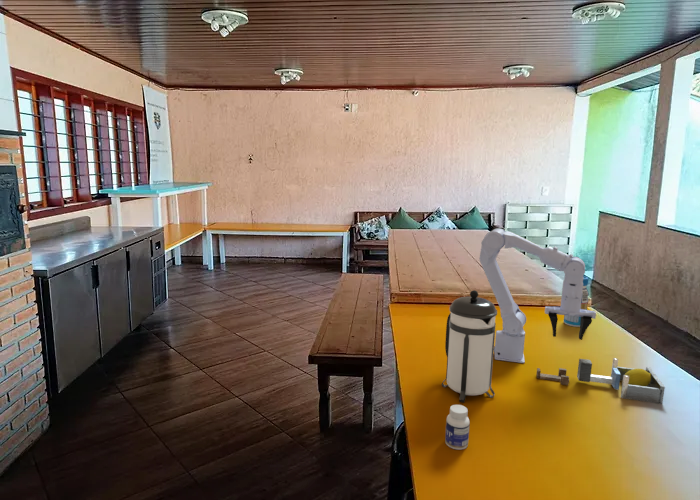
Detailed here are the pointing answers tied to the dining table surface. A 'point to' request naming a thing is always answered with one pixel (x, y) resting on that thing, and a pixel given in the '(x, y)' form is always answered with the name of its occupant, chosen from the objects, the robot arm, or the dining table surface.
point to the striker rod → (586, 375)
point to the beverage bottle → (584, 301)
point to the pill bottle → (457, 427)
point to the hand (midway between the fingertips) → (567, 337)
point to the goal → (642, 393)
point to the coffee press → (470, 345)
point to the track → (560, 377)
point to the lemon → (638, 377)
